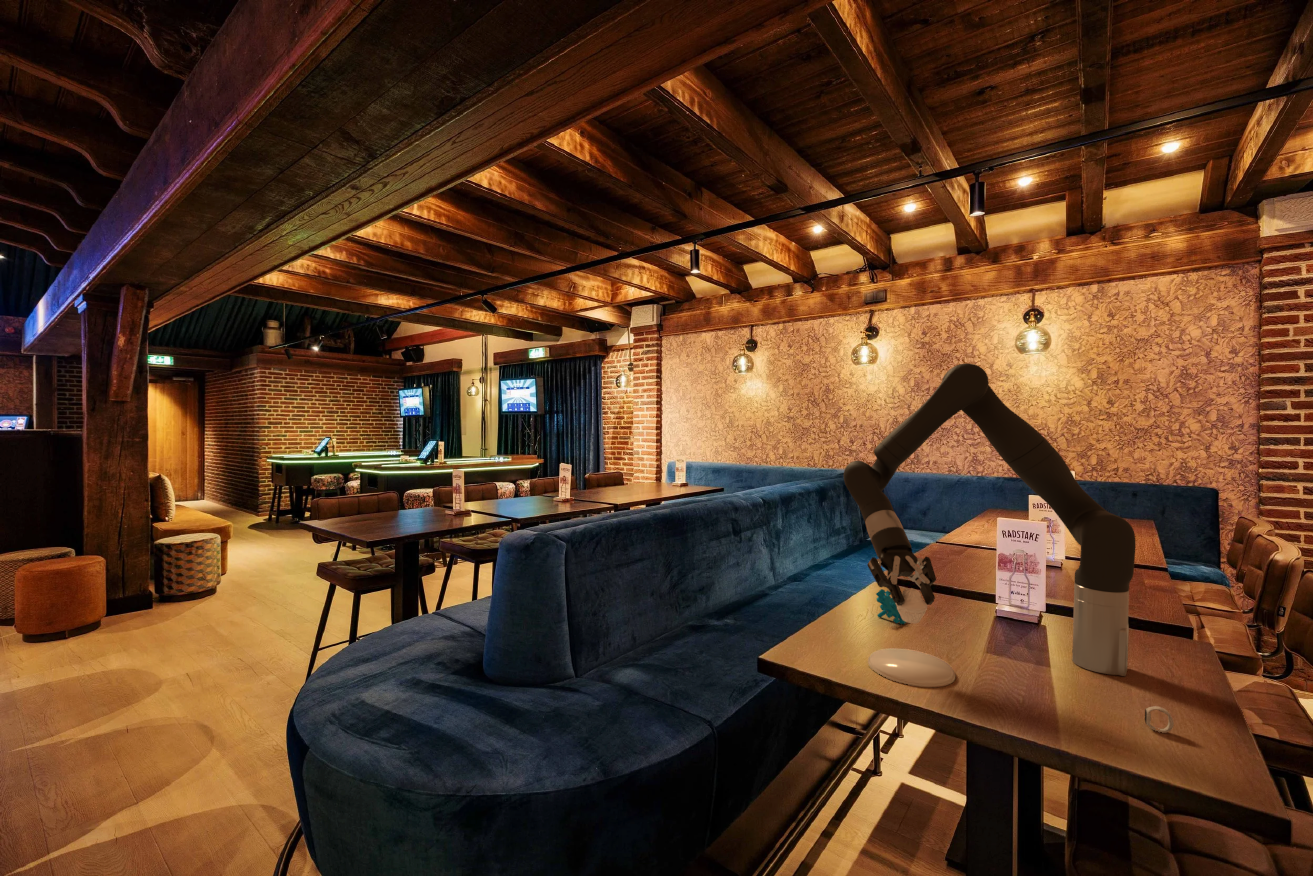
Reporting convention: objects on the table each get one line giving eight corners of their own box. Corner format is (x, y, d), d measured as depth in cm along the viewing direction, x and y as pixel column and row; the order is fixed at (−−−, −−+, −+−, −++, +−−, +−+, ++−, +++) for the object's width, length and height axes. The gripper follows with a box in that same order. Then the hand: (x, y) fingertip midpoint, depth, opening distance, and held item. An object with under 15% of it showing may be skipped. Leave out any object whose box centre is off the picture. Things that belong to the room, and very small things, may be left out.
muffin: (916, 628, 115) (917, 594, 115) (889, 619, 120) (890, 586, 120) (932, 622, 119) (933, 589, 119) (905, 614, 124) (906, 582, 123)
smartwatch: (1172, 732, 96) (1172, 708, 96) (1174, 737, 94) (1174, 713, 94) (1144, 725, 98) (1144, 702, 98) (1145, 730, 96) (1146, 707, 96)
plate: (965, 668, 120) (965, 662, 120) (940, 695, 108) (941, 689, 108) (885, 646, 131) (885, 641, 131) (854, 669, 119) (854, 663, 119)
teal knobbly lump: (895, 623, 143) (873, 588, 149) (879, 634, 146) (857, 600, 152) (918, 620, 149) (896, 587, 155) (902, 631, 152) (880, 598, 158)
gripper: (863, 525, 125) (891, 595, 114) (924, 525, 127) (957, 594, 116) (851, 544, 131) (876, 612, 119) (909, 543, 133) (940, 611, 121)
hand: (916, 603), depth 118 cm, fingers closed on muffin, 6 cm apart
